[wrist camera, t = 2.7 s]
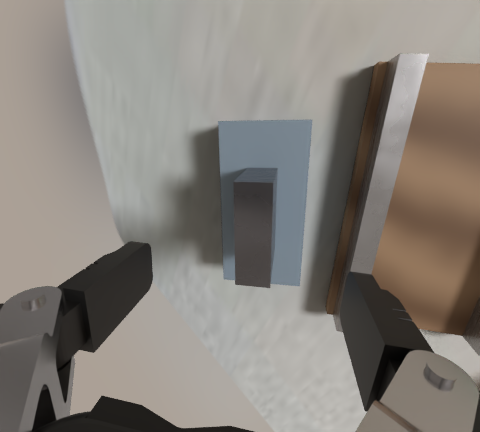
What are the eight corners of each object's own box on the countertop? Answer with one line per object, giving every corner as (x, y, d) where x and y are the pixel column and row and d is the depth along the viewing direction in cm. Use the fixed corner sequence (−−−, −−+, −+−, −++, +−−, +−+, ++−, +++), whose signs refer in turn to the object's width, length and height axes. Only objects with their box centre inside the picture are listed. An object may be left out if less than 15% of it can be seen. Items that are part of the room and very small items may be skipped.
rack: (374, 65, 18) (390, 53, 15) (600, 70, 16) (668, 57, 13) (325, 306, 24) (330, 329, 21) (480, 331, 22) (508, 360, 19)
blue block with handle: (231, 122, 21) (191, 118, 12) (307, 121, 20) (321, 116, 11) (233, 256, 25) (204, 322, 16) (298, 261, 24) (302, 334, 15)
